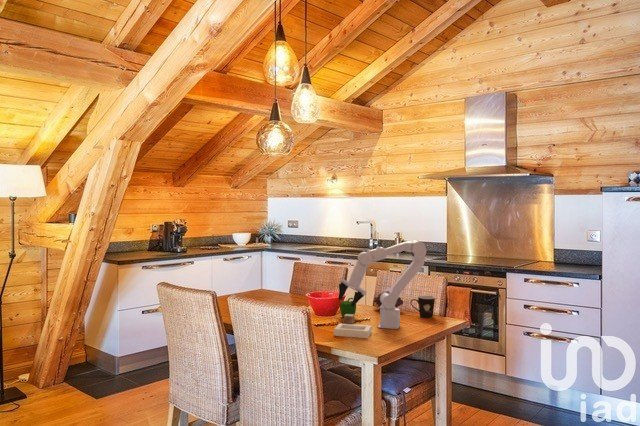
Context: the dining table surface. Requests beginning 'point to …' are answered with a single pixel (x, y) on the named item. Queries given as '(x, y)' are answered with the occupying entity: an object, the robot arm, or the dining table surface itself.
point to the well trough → (353, 330)
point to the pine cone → (378, 302)
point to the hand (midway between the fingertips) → (346, 302)
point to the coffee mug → (425, 306)
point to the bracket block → (349, 319)
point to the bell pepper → (347, 307)
